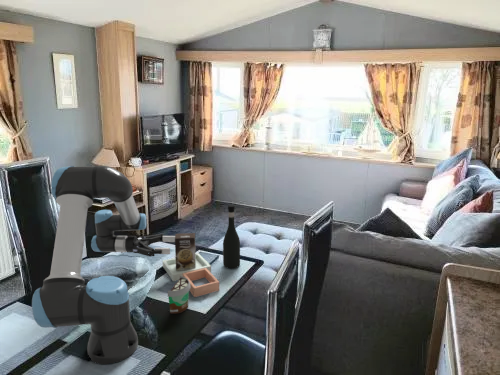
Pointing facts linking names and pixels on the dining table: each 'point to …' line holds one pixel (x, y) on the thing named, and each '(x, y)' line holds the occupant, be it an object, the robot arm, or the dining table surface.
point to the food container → (179, 296)
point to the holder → (205, 288)
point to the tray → (175, 275)
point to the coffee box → (185, 251)
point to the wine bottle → (231, 243)
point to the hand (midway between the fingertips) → (173, 244)
